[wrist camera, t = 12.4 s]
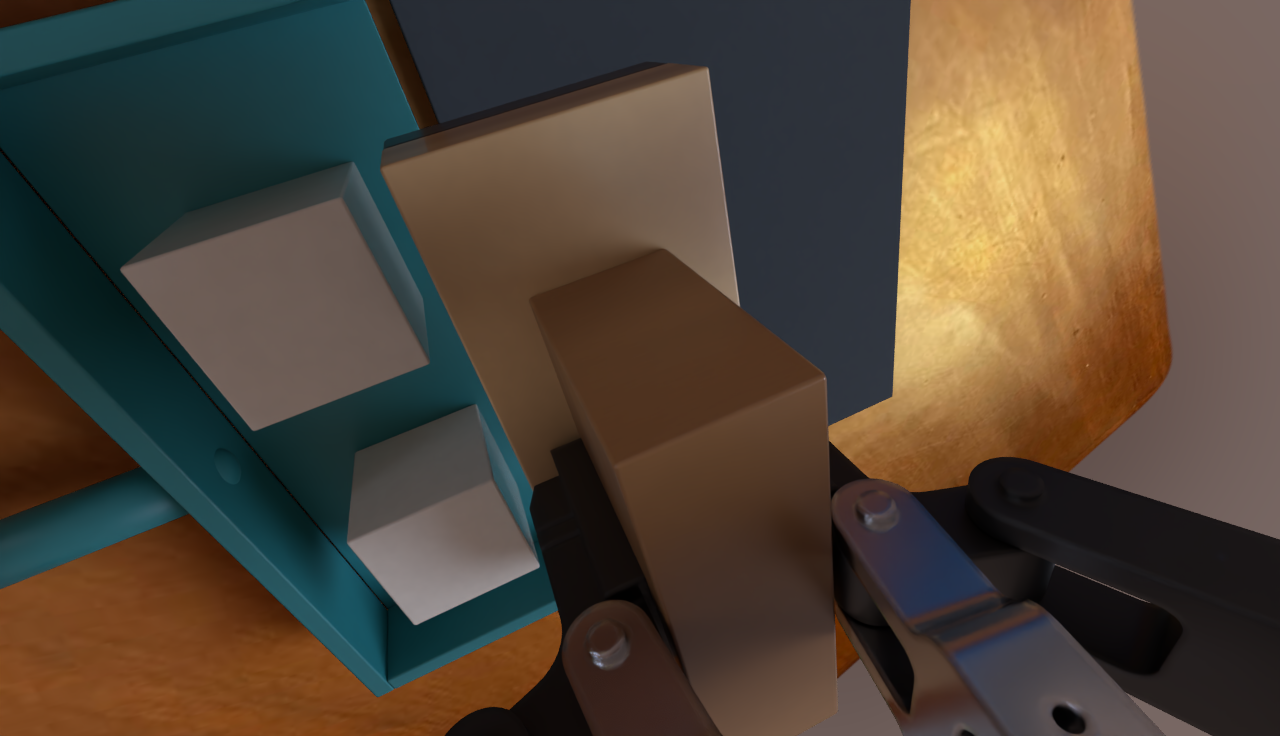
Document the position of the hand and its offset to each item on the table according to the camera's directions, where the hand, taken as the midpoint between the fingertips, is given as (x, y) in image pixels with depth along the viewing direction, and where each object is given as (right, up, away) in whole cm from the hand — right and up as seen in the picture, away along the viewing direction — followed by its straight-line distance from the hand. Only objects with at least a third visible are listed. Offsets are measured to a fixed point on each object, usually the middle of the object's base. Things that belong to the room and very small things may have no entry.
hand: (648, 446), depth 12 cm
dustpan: (-12, 0, +5) cm, 13 cm away
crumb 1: (-9, +4, +3) cm, 10 cm away
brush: (-1, +1, +2) cm, 3 cm away
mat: (+3, +6, +8) cm, 10 cm away
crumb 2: (-7, -2, +8) cm, 10 cm away
